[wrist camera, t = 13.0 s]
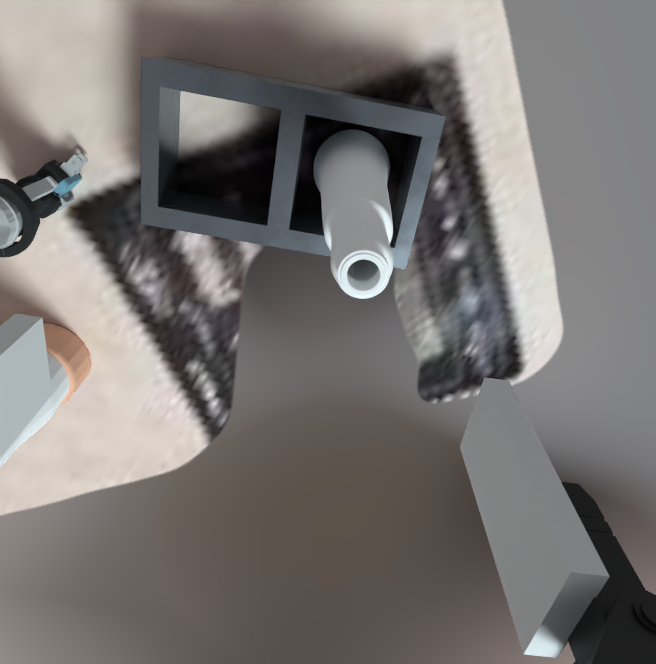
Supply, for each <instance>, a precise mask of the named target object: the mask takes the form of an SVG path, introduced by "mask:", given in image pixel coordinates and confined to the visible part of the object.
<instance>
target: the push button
mask: <svg viewBox="0 0 656 664" xmlns="http://www.w3.org/2000/svg"><path fill="white" fill-rule="evenodd" d="M80 158H82V160H83V161H82V160H81V159H80ZM87 161H88V159H87V158H86V157H85V156H84V155H83V154H82V153H79V154H78V155H73V156H72V157H71V158H70V159H69V160H68V162H67V163H66V162H62V163H60V164H59V163H58V162H57V161H56V160H53V161H50V162H48V163H46V164H45V165H44V166H43V167H42V168H41V169H40V170H39V171H38V172H36V173H35V174H34V175H31V176H28V177H25V178H23V179H21V180H19V181H18V182H17V183H16V184H15V183H13V182H11V181H10V180H8V179H0V257H11V256H15V255H17V254H19V253H21V252H22V251H24V250H25V249H27V248H28V247H29V245H30V244H31V243H32V241H33V239H34V237H35V234H36V232H37V229H38V227H39V224H40V218H42V219H43V218H46V217H48V216H49V215H51V214H53V213H55V212H56V211H57V210H58V211H59V210H61V209H63V208H65V207H66V206H68V205H69V204H70V203H71V202H72V201H73V200H74V198H72V199H70V200H69V201H67V202H66V201H65V200H64V199H63V197H64V196H65V195H66V194H67V193H68V192H69V191H70V190H71V189H72V188H73V187H74V186H75V185H76V184H77V183H78V182H79V181H80V180H81V179H82V178H81V177H80V176H79V175H78V173H79V172H80V171H81V170H80V168H81V167H82V166H83V165H84V164H85V163H86V162H87ZM22 234H23V235H22ZM21 235H22V237H21V239H20V241H18V242H15V240H16V239H17V237H19V236H21Z"/></svg>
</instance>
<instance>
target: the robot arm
mask: <svg viewBox="0 0 656 664" xmlns="http://www.w3.org/2000/svg"><path fill="white" fill-rule="evenodd" d="M51 396H52V387H51V379H50V372H49V364H48V356H47V349H46V341H45V334H44V326H43V318H42V317H37V316H30V315H23V314H14V315H13V316H12V317H10V318H9V319H8V320H7V321H5V322H4V323H3V324H2V325H1V326H0V458H1V457H2V455H3V454H4V453H5V452H6V450H7V449H8V448H9V447H10V446H11V444H12V443H13V442H14V441H15V440H16V438H17V437H18V436H19V435H20V433H21V432H22V431H23V430H24V429H25V427H26V426H27V425H28V424H29V422H30V421H31V420H32V419H33V418H34V416H35V415H36V414H37V413H38V412H39V410H40V409H41V408H42V407H43V405H44V404H45V403H46V402H47V401H48V399H49V398H50V397H51ZM460 448H461V452H462V455H463V458H464V461H465V465H466V468H467V471H468V475H469V478H470V481H471V484H472V488H473V491H474V494H475V498H476V501H477V504H478V507H479V511H480V514H481V517H482V520H483V524H484V527H485V530H486V533H487V536H488V540H489V543H490V546H491V550H492V553H493V556H494V559H495V563H496V566H497V569H498V572H499V575H500V579H501V582H502V585H503V589H504V592H505V595H506V598H507V602H508V605H509V608H510V612H511V615H512V618H513V621H514V625H515V628H516V631H517V634H518V638H519V641H520V644H521V647H522V651H523V654H526V655H536V656H545V657H556V658H558V657H559V655H560V653H561V652H562V650H563V649H564V647H565V646H566V644H567V642H569V644H570V647H571V650H572V652H573V655H574V657H575V660H576V661H575V662H574V664H656V595H654V594H652V593H650V592H648V591H646V590H645V588H644V587H643V585H642V583H641V581H640V580H639V578H638V576H637V574H636V573H635V571H634V569H633V567H632V565H631V564H630V562H629V560H628V558H627V557H626V555H625V553H624V551H623V550H622V548H621V546H620V544H619V543H618V541H617V539H616V537H615V536H613V532H612V530H611V529H610V527H609V525H608V523H607V522H605V521H604V516H603V514H602V513H601V511H600V509H599V507H598V506H597V504H596V502H595V500H593V498H591V496H589V494H587V492H586V491H585V490H584V489H583V488H582V487H581V486H580V485H579V484H574V483H566V482H561V481H560V479H559V477H558V475H557V473H556V472H555V469H554V467H553V466H552V464H551V462H550V460H549V458H548V456H547V454H546V452H545V450H544V448H543V446H542V444H541V442H540V440H539V438H538V436H537V434H536V433H535V431H534V429H533V427H532V425H531V423H530V421H529V419H528V417H527V415H526V413H525V411H524V409H523V407H522V405H521V403H520V401H519V399H518V398H517V396H516V394H515V392H514V390H513V388H512V386H511V384H510V382H509V381H506V380H498V379H491V378H484V380H483V383H482V386H481V389H480V392H479V394H478V397H477V400H476V403H475V406H474V409H473V411H472V414H471V417H470V420H469V423H468V425H467V428H466V431H465V434H464V437H463V439H462V442H461V445H460Z"/></svg>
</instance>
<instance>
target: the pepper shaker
mask: <svg viewBox="0 0 656 664" xmlns="http://www.w3.org/2000/svg"><path fill="white" fill-rule="evenodd" d="M43 326H44V334H45V341H46V349H47V356H48V364H49V372H50V379H51V387H52V396H51V397H50V398H49V399H48V401H47V402H46V403H45V404H44V405H43V407H42V408H41V409H40V410H39V412H38V413H37V414H36V415H35V416H34V418H33V419H32V420H31V421H30V422H29V424H28V425H27V426H26V427H25V429H24V430H23V431H22V432H21V433H20V435H19V436H18V437H17V438H16V440H15V441H14V442H13V443H12V444H11V446H10V447H9V448H8V449H7V450H6V452H5V453H4V454H3V455H2V457H1V458H0V468H1V466H2V465H3V464H4V463H5V461H6V460H7V459H8V458H9V457H10V455H11V454H12V453H13V452H14V451H15V449H16V448H17V447H19V446H20V445H21V444H22V443H23V442H24V441H26V440H27V439H28V438H29V437H30V436H31V435H33V434H34V433H35V432H36V431H37V430H39V429H40V428H41V427H42V426H43V425H44V424H46V422H47V421H48V420H49V418H50V417H51V416H52V414H53V413H54V412H55V410H56V409H57V408H58V406H59V405H61V404H63V403H65V402H66V401H68V400H69V399H70V398H71V396H72V395H73V394H74V392H75V391H76V390H77V389H78V387H79V386H80V385H81V383H82V382H83V381H84V380H85V378H86V377H87V376H88V374H89V372H90V368H91V359H90V354H89V352H88V350H87V348H86V346H85V344H84V343H83V342H82V341H81V340H80V339H79V338H78V337H77V336H76V335H75V334H73V333H72V332H70V331H69V330H67V329H66V328H64V327H61V326H58V325H55V324H51V323H43Z"/></svg>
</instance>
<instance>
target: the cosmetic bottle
mask: <svg viewBox="0 0 656 664" xmlns="http://www.w3.org/2000/svg"><path fill="white" fill-rule="evenodd" d="M313 175H314V180H315V183H316V186H317V188H318V190H319V191H320V193H321V205H322V220H323V230H324V237H325V241H326V243H327V246H328V247H329V249H330V250H331V270H332V273H333V276H334V278H335V279H336V280H337V282H338V283H339V285H340V287H341V288H342V289H343V291H344V292H345V293H347V294H348V295H350V296H352V297H355V298H362V299H365V298H370V297H373V296H375V295H377V294H379V293H380V292H381V291H382V290H383V289H384V288H385V287H386V285H387V283H388V281H389V277H390V275H391V273H392V270H393V254H392V251H391V247H390V242H391V239H392V235H393V222H392V213H391V206H390V200H389V194H388V189H387V183H388V180H389V176H390V161H389V157H388V154H387V152H386V150H385V148H384V146H383V145H382V144H381V142H380V141H379V140H378V139H377V138H375V137H374V136H372V135H371V134H369V133H367V132H364V131H361V130H344V131H340V132H338V133H336V134H334V135H332V136H331V137H329V138H328V139H327V140H326V141H325V142H324V143H323V144H322V145H321V147H320V148H319V150H318V152H317V154H316V156H315V160H314V165H313Z"/></svg>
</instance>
